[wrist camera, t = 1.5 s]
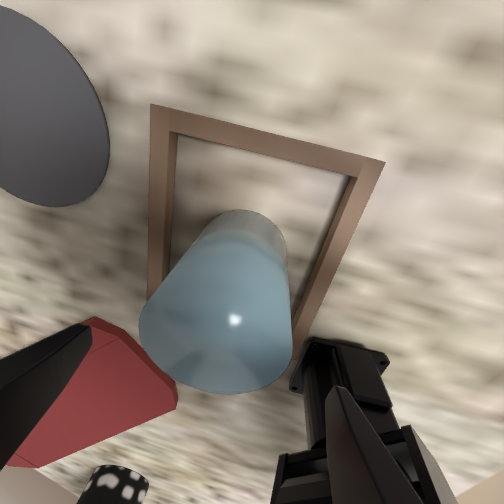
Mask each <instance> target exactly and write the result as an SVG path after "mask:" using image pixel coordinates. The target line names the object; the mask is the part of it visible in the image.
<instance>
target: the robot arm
mask: <svg viewBox="0 0 504 504" xmlns="http://www.w3.org/2000/svg"><path fill="white" fill-rule="evenodd" d="M92 344H93V336H92V328H91V326H90V325H86V324H82V323H78V324H75V325H73V326H70V327H68V328H66V329H64V330H62V331H60V332H58V333H56V334H53V335H51V336H49V337H47V338H45V339H43V340H41V341H39V342H36V343H34V344H32V345H30V346H28V347H26V348H24V349H22V350H19V351H17V352H15V353H13V354H11V355H9V356H7V357H5V358H3V359H0V471H1V470H2V469H3V467H4V466H5V465H6V463H7V462H8V461H9V460H10V458H11V457H12V456H13V454H14V453H15V452H16V451H17V449H18V448H19V447H20V445H21V444H22V443H23V442H24V440H25V439H26V438H27V436H28V435H29V434H30V433H31V431H32V430H33V429H34V427H35V426H36V425H37V424H38V422H39V421H40V420H41V418H42V417H43V416H44V415H45V413H46V412H47V411H48V409H49V408H50V407H51V406H52V404H53V403H54V402H55V400H56V399H57V398H58V397H59V395H60V394H61V393H62V391H63V390H64V388H65V387H66V386H67V384H68V383H69V381H70V379H71V378H72V376H73V375H74V373H75V372H76V370H77V369H78V367H79V365H80V364H81V362H82V361H83V359H84V358H85V356H86V355H87V353H88V352H89V350H90V348H91V347H92ZM314 344H316V345H314ZM389 364H390V361H389V359H388V357H387V356H386V355H384V354H380V353H376V352H372V351H368V350H364V349H359V348H355V347H351V346H347V345H343V344H339V343H335V342H331V341H326V340H322V339H318V338H312V339H310V340H309V341H308V343H307V346H306V348H305V350H304V352H303V354H302V356H301V358H300V360H299V363H298V365H297V367H296V369H295V371H294V373H293V375H292V377H291V380H290V382H289V390H290V391H292V392H296V393H300V394H303V398H304V409H305V420H306V431H307V442H308V450H306V451H301V452H297V453H293V454H288V453H285V454H281V455H280V456H279V460H278V465H277V471H276V476H275V481H274V486H273V491H272V496H271V502H270V504H458V503H457V501H456V499H455V497H454V495H453V493H452V491H451V489H450V487H449V485H448V483H447V481H446V479H445V477H444V475H443V473H442V471H441V469H440V467H439V465H438V463H437V462H436V460H435V459H434V457H433V456H432V455H431V453H430V452H429V450H428V449H427V447H426V446H425V445H424V443H423V442H422V440H421V439H420V437H419V436H418V435H417V433H416V432H415V430H414V429H413V428H412V426H411V425H406V426H402V427H401V429H400V428H399V426H398V423H397V421H396V418H395V416H394V413H393V411H392V406H393V405H392V402H391V400H390V397H389V395H388V392H387V390H386V388H385V385H384V383H383V380H382V378H381V375H382V373H383V372H384V371H385V369H386V368H387V367H388V365H389Z"/></svg>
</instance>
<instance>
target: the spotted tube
mask: <svg viewBox="0 0 504 504" xmlns="http://www.w3.org/2000/svg"><path fill="white" fill-rule="evenodd" d="M148 487H149V483H148V482H147V480H146V479H145V478H144V477H142V476H141V475H140V474H138V473H136V472H134V471H132V470H129V469H127V468H123V467H119V466H112V465H105V466H100V467H97V468H96V469H95V471H94V473H93V474H92V476H91V478H90V480H89V482H88V484H87V485H86V487H85V489H84V491H83V493H82V495H81V496H80V498H79V500H78V502H77V504H143V501H144V498H145V496H146V493H147V490H148Z"/></svg>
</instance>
